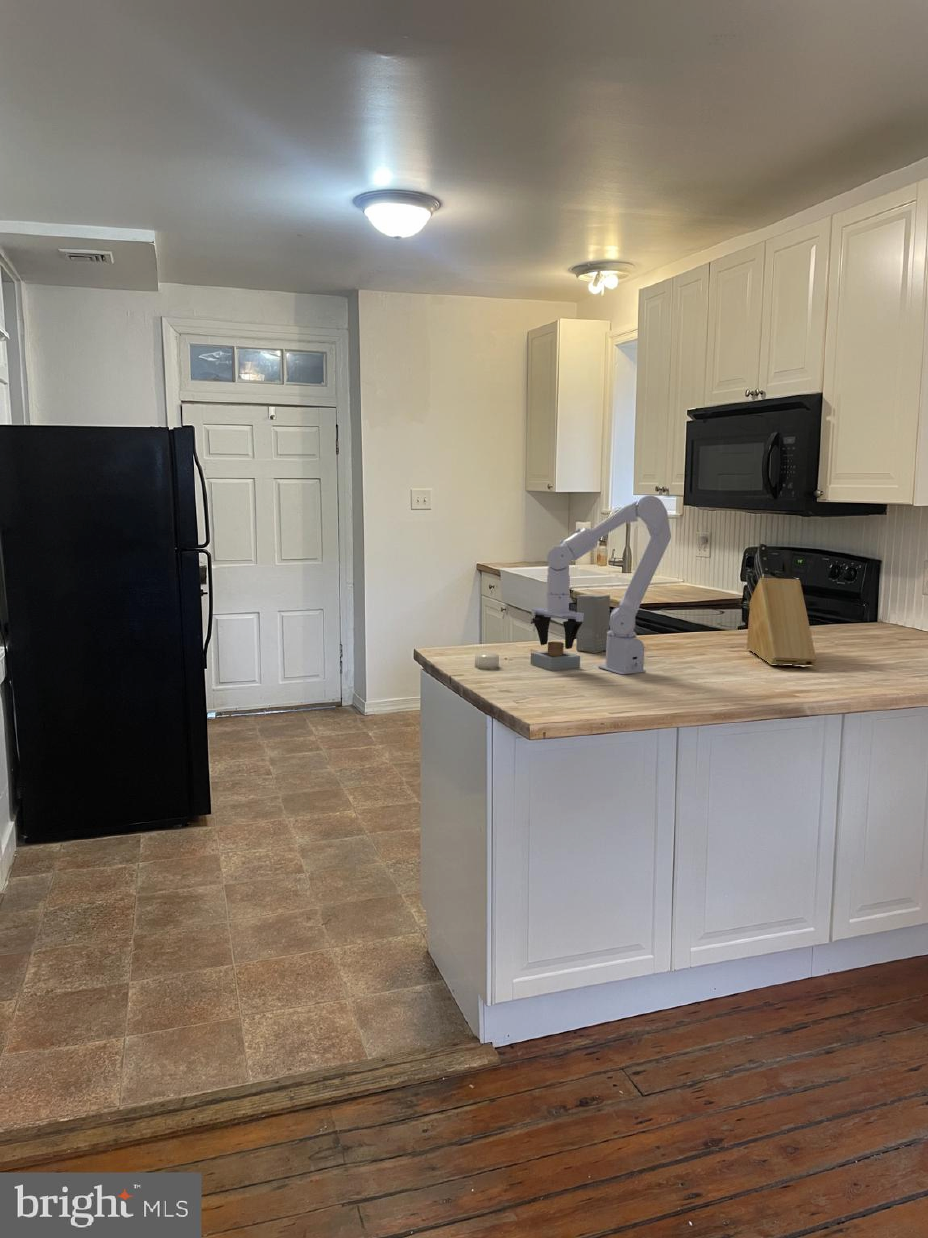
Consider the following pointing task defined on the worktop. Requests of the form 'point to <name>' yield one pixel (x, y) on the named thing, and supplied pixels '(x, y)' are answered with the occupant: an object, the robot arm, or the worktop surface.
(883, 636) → the worktop surface
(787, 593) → the knife block
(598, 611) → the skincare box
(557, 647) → the walnut dowel
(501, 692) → the worktop surface
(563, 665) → the socket board
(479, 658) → the ivory rounded cylinder
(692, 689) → the worktop surface
